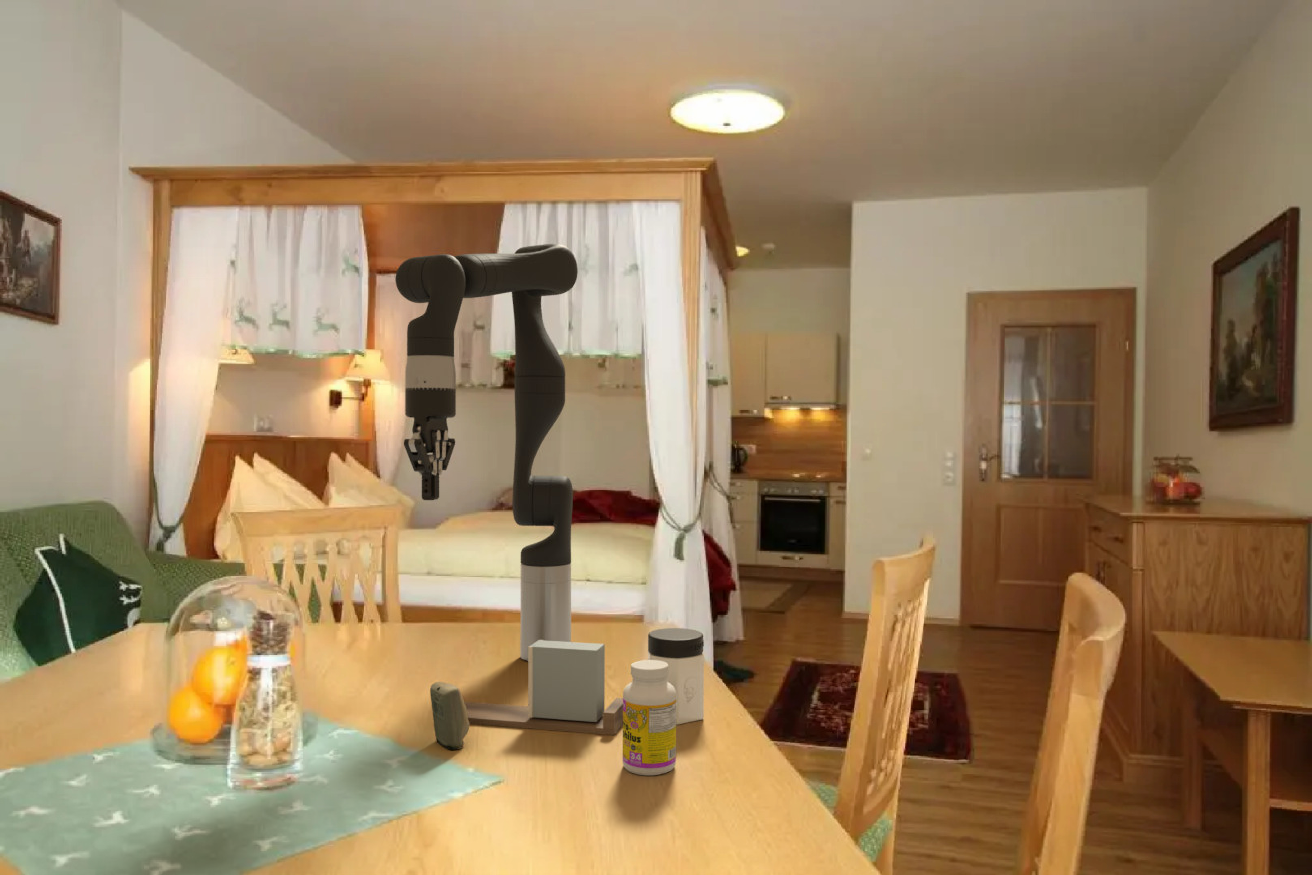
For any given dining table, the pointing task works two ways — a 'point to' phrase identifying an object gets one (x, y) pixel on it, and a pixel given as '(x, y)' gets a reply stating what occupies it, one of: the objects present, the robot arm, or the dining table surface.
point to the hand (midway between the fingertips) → (430, 499)
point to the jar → (682, 668)
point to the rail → (519, 718)
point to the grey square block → (566, 680)
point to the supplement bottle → (649, 720)
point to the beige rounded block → (449, 715)
